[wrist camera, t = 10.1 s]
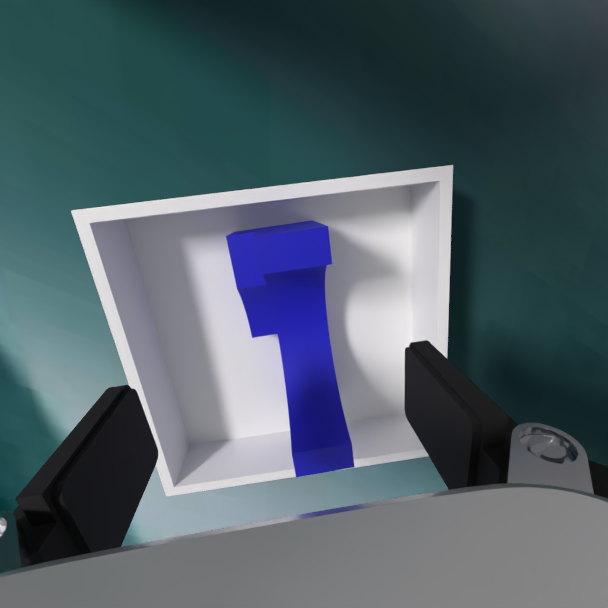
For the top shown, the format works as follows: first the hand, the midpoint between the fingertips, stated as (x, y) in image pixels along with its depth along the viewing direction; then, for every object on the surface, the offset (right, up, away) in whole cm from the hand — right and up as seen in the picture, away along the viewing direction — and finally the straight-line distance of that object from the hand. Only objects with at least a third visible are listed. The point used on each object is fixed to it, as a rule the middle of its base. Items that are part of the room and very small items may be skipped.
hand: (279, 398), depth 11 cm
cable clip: (0, +2, +9) cm, 9 cm away
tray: (0, +2, +9) cm, 10 cm away
